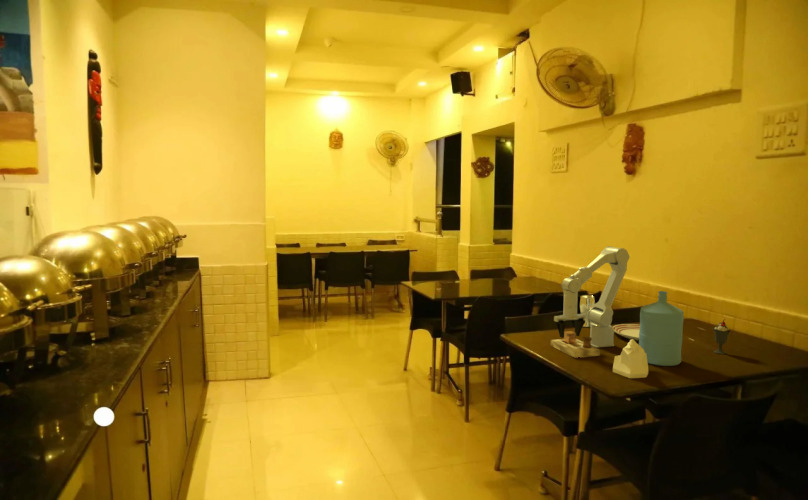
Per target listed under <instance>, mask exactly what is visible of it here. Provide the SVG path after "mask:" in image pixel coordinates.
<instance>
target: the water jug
mask: <svg viewBox="0 0 808 500" xmlns="http://www.w3.org/2000/svg"><path fill="white" fill-rule="evenodd" d="M657 292H658V297H657V301H656V302H652V303H650V304H646V305H643V306H641V307H640V311H639V325H640V331H639V341H638V345H640V346H641V347H642V348H643V349H644V352H645V353H646V355H647V362H648V365H649V364H650V365H655V366H660V367H674V366H678V365H680V363H682V345H683V329H684V328H683V327H684V320H685V319H684V317H685V316H684V311H683V309H680V308H678V307H677V306H675V305H673V304H671V303H670V302H668V301H667V300H668V295H667V294H668V292H667V291H664V290H663V291H662V290H659V291H657Z"/></svg>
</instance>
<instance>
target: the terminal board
mask: <svg viewBox="0 0 808 500" xmlns="http://www.w3.org/2000/svg"><path fill="white" fill-rule="evenodd" d="M582 340H583V341H582ZM582 340H580V339H578V338H576V343H574V344H566V343H564V338H558V339H550V347H552V348H555V349H557V350H559V351H560V352H562V353H563V354H566V355H568V356H570V357H572V358H573V357H574V359H577V358H578V357H580V358H587V357H588V358H589V357H596V356H597V357H598V356H599V357H600V356H601V350H600V348H599V347H598V348H596V347H594V346H592V345H591V340H592V338H591V337H590V336H583V337H582Z"/></svg>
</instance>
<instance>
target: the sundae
mask: <svg viewBox="0 0 808 500" xmlns="http://www.w3.org/2000/svg"><path fill="white" fill-rule="evenodd" d="M712 331H713V333H714V341H715V343H717V345H718V349H717V350H716V349H715V350H713V353H714V354H718V355H727V354H728V352H727V351H724V350H723V345H725V344H726V343H727V341H728V337H729V333H731V331H732V330H731V329H729V328H728V325H727V323H726V318H724V320H722V321H721V322H718V324H717V325H716V326H713V327H712Z"/></svg>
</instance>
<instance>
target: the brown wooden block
mask: <svg viewBox="0 0 808 500" xmlns="http://www.w3.org/2000/svg"><path fill="white" fill-rule="evenodd" d="M563 339H564V343H566V344H574V343H576V339H577V336H576V333H575V331H572V330H568V331H564V338H563Z"/></svg>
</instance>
